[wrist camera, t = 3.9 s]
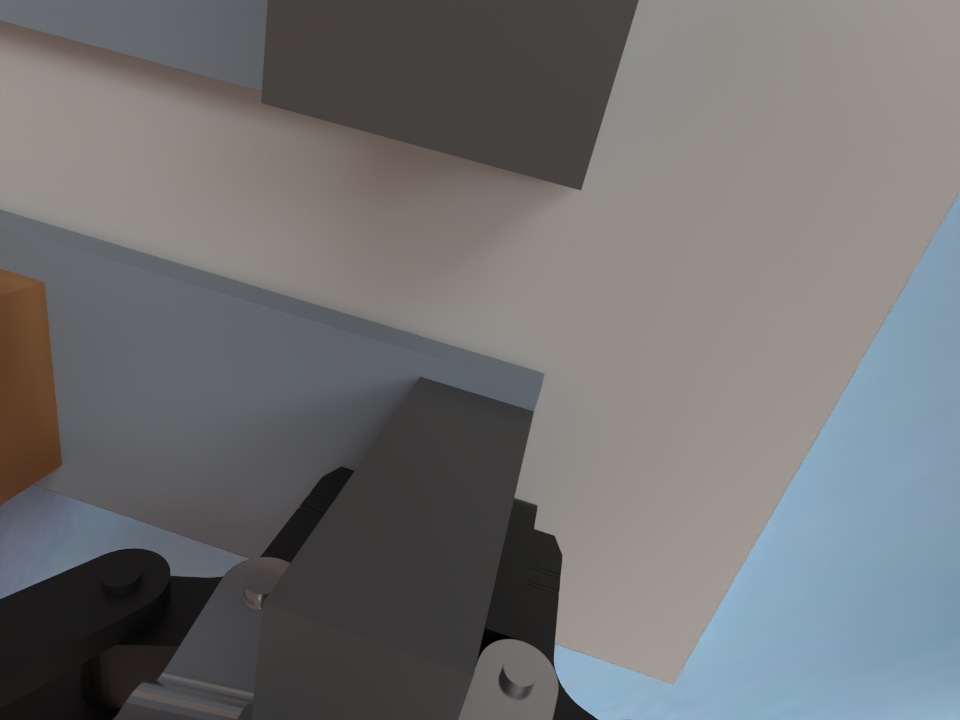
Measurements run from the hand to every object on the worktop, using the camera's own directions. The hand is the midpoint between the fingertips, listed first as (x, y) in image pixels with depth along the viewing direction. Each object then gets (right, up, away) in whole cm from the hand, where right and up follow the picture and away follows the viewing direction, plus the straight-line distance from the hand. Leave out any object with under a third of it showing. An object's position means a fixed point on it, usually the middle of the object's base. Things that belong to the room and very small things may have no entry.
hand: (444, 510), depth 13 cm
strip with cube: (-7, +3, +1) cm, 8 cm away
